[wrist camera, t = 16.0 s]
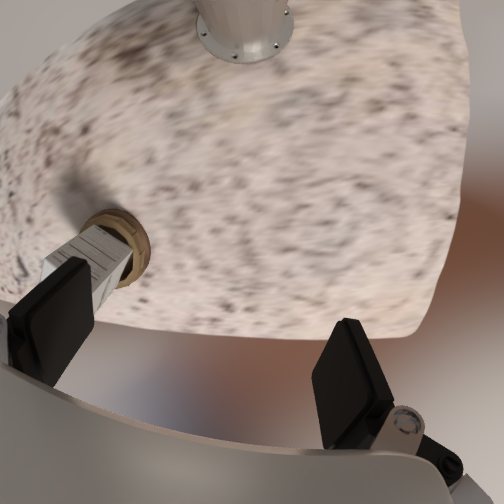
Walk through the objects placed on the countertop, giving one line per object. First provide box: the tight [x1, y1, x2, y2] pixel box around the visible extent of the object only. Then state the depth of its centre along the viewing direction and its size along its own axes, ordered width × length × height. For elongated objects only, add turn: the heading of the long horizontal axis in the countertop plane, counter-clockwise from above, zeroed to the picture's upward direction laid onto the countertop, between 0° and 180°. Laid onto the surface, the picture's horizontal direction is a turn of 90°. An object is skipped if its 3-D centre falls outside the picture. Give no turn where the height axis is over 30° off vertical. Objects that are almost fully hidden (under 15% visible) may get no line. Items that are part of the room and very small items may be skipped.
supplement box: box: [39, 224, 133, 314], centre depth 33 cm, size 7×7×13 cm
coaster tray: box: [79, 209, 151, 289], centre depth 40 cm, size 12×12×4 cm
